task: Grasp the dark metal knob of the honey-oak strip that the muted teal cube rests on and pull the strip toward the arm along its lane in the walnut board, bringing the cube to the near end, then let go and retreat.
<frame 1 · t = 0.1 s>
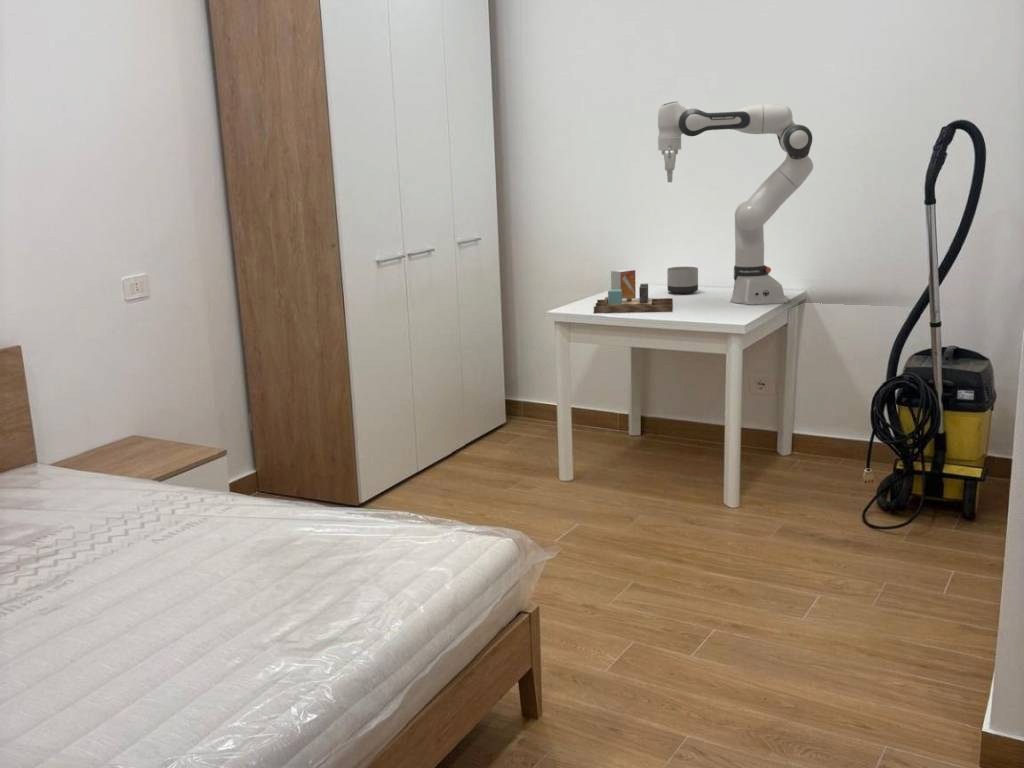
hand: (669, 181, 384), 48 cm above the table, fingers open, 8 cm apart
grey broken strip: (629, 307, 390), resting on lane board
lane board: (633, 308, 386), on the table
planter: (682, 293, 419), on the table
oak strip: (628, 297, 381), point 5 cm above the table, slide at 0.0 cm, touching teal cube
small box: (623, 302, 404), on the table
teal cube: (615, 303, 382), point 3 cm above the table, touching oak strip
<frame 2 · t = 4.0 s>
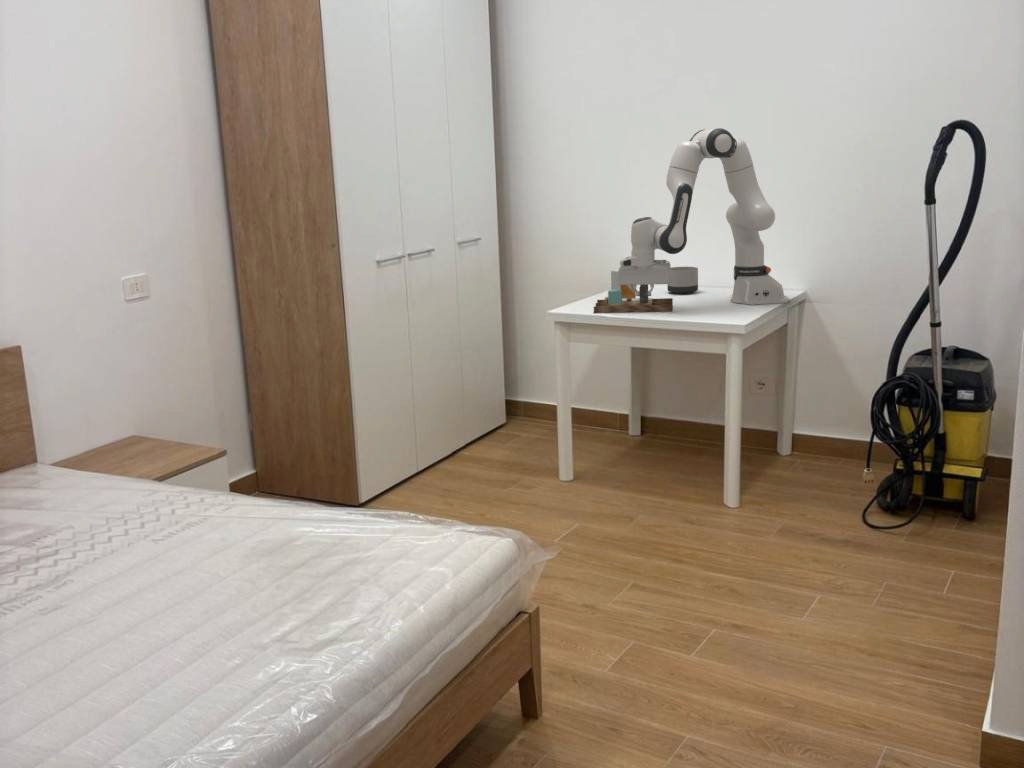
hand: (643, 296, 380), 6 cm above the table, fingers closed on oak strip, 3 cm apart
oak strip: (628, 297, 381), point 5 cm above the table, slide at 0.0 cm, touching gripper, teal cube
everything else where it was.
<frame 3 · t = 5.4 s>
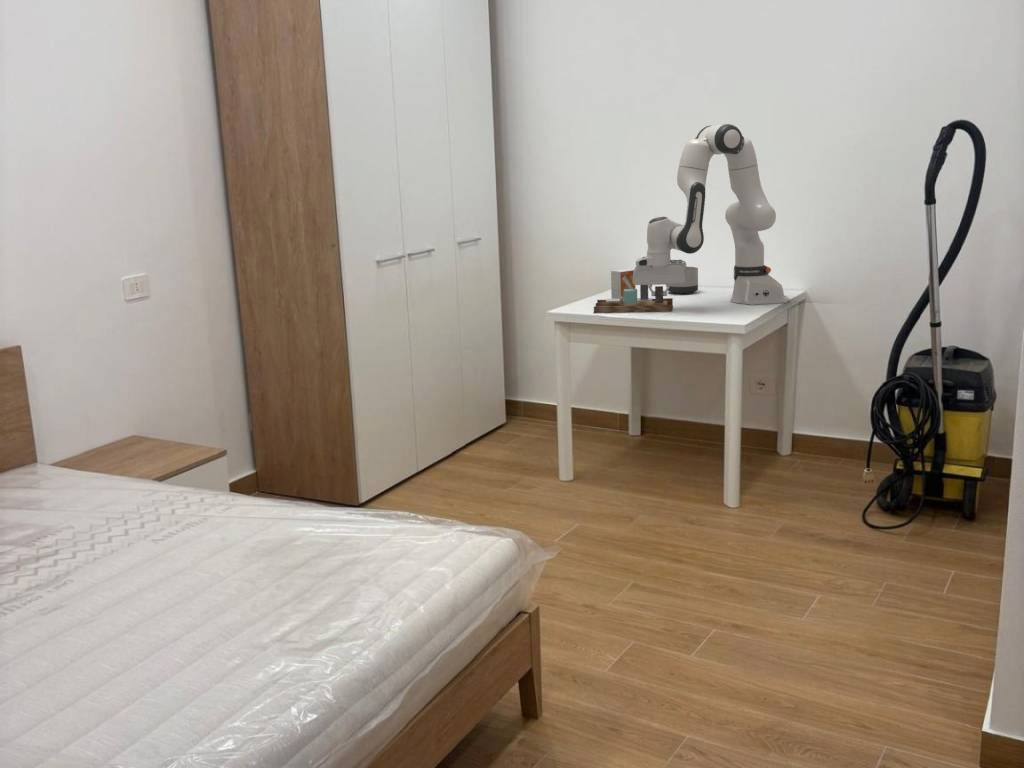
hand: (659, 295, 379), 5 cm above the table, fingers closed on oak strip, 3 cm apart
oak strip: (643, 297, 380), point 5 cm above the table, slide at 6.0 cm, touching gripper, teal cube
teal cube: (630, 302, 381), point 3 cm above the table, touching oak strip
everything else where it was.
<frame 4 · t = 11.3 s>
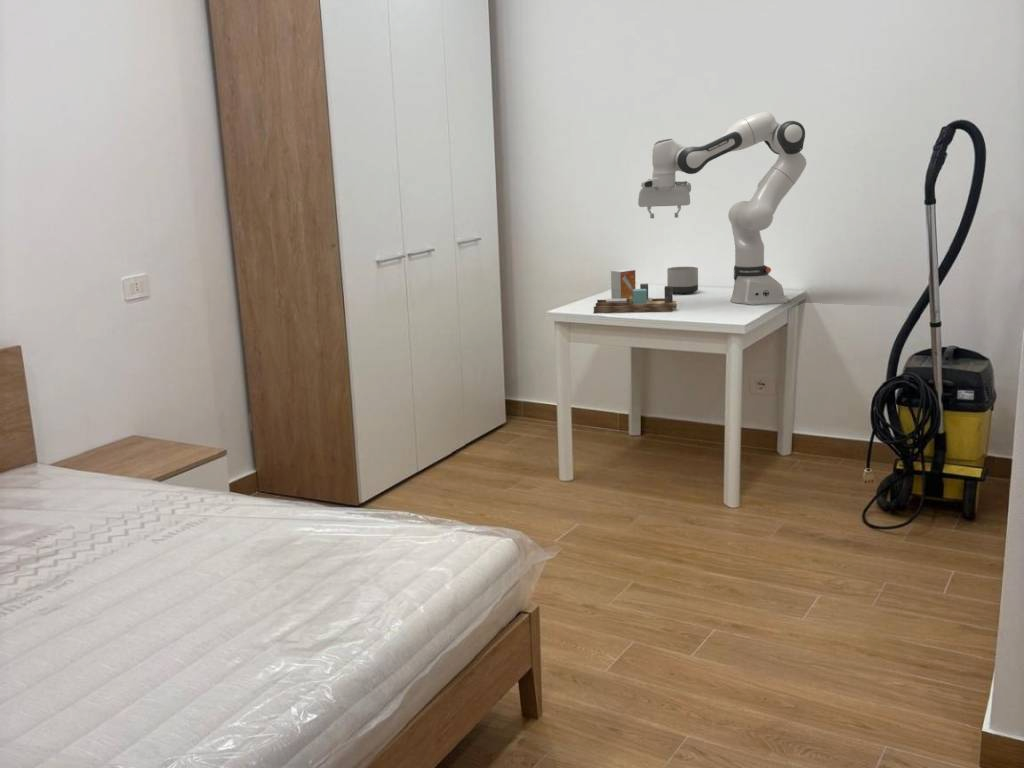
hand: (664, 217, 386), 34 cm above the table, fingers open, 8 cm apart
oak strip: (652, 297, 379), point 5 cm above the table, slide at 9.6 cm, touching teal cube
teal cube: (639, 302, 381), point 3 cm above the table, touching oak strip
everything else where it was.
at the end: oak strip slide at 9.6 cm; teal cube inside the target area (0.6 cm from its centre), point 3.0 cm above the table; teal cube tilted 0° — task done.
